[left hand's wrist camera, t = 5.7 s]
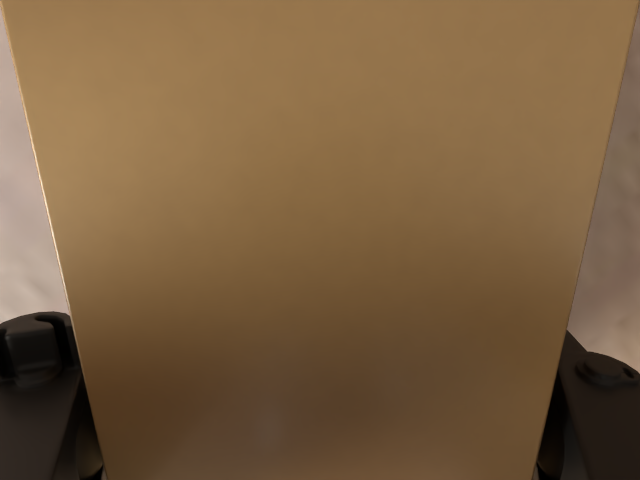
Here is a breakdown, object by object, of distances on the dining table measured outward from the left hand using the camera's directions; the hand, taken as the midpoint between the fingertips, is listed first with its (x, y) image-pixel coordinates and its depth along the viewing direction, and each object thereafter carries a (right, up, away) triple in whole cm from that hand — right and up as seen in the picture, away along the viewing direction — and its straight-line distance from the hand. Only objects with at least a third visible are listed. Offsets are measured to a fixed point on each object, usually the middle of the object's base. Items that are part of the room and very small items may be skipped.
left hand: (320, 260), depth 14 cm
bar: (0, +24, -9) cm, 25 cm away
